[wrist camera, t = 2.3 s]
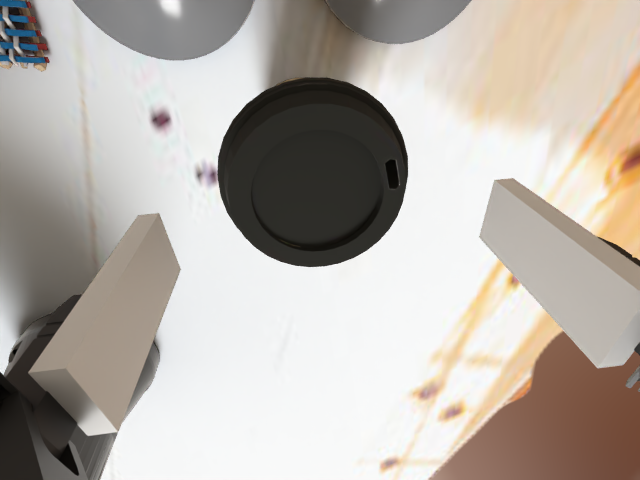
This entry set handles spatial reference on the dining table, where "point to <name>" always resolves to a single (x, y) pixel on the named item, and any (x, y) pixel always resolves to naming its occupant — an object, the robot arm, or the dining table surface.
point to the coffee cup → (313, 171)
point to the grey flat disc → (169, 24)
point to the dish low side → (396, 17)
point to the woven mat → (3, 27)
